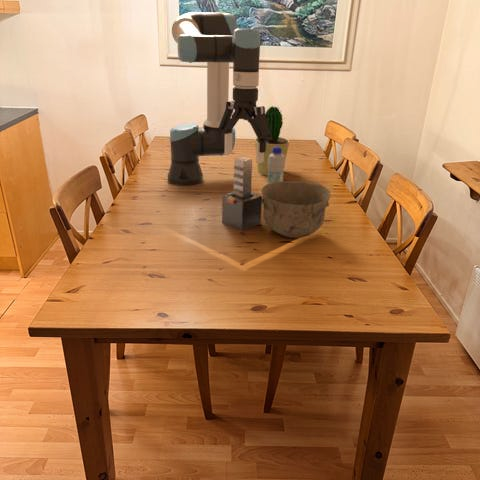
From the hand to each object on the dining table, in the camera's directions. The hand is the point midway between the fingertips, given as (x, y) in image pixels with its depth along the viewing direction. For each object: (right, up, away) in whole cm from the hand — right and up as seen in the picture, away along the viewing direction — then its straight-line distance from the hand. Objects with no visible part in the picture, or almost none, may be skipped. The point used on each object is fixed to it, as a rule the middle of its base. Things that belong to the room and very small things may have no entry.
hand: (243, 158), depth 141 cm
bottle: (+12, -9, +37) cm, 40 cm away
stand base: (-1, -21, +10) cm, 24 cm away
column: (-1, -20, +10) cm, 22 cm away
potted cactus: (+13, +5, +66) cm, 68 cm away
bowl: (+16, -24, +6) cm, 29 cm away
